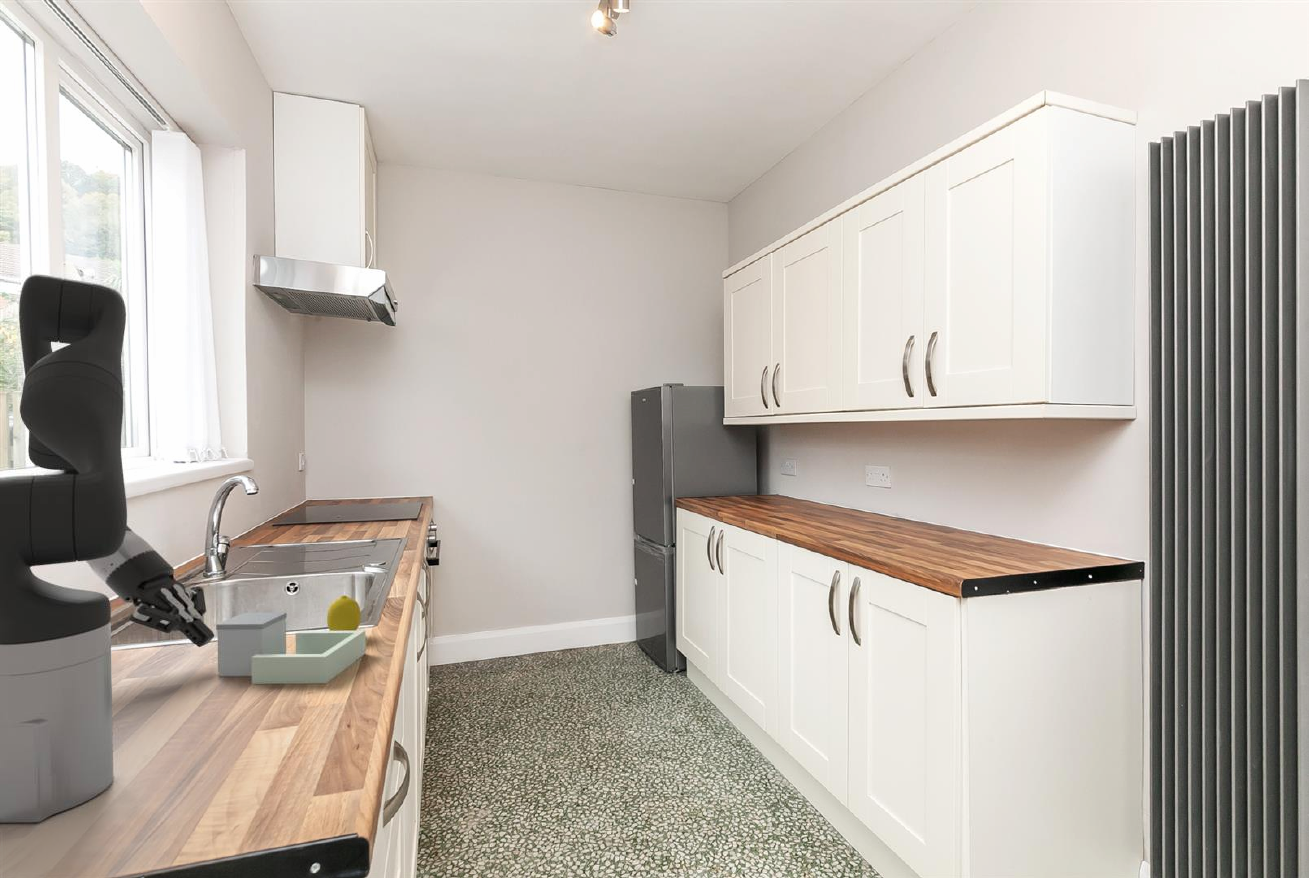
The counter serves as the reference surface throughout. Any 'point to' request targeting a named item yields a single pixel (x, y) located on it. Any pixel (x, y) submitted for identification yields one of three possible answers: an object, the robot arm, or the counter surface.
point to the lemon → (344, 615)
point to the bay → (310, 658)
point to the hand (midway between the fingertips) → (207, 641)
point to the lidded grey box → (249, 641)
